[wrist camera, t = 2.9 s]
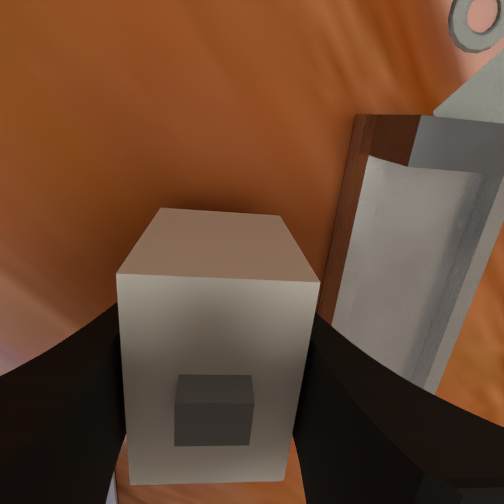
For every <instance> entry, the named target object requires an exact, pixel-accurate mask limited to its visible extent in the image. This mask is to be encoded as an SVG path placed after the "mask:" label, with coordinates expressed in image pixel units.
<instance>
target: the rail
mask: <svg viewBox="0 0 504 504" xmlns="http://www.w3.org/2000/svg"><path fill="white" fill-rule="evenodd" d="M503 221H504V124H503V123H494V122H484V121H475V120H465V119H456V118H446V117H436V116H427V115H374V114H356V117H355V122H354V127H353V132H352V138H351V143H350V148H349V153H348V158H347V163H346V168H345V173H344V179H343V184H342V189H341V194H340V199H339V204H338V209H337V214H336V220H335V225H334V230H333V235H332V240H331V245H330V250H329V255H328V261H327V266H326V271H325V276H324V281H323V286H322V291H321V297H320V302H319V307H318V312H317V314H318V315H320V316H321V317H322V318H323V319H324V320H325V321H326V322H327V323H329V324H330V325H331V326H332V327H333V328H334V329H336V330H337V331H338V332H339V333H340V334H342V335H343V336H344V337H345V338H347V339H348V340H349V341H350V342H352V343H353V344H354V345H356V346H357V347H358V348H360V349H361V350H362V351H364V352H365V353H366V354H368V355H369V356H370V357H372V358H373V359H375V360H376V361H378V362H379V363H381V364H382V365H384V366H385V367H387V368H389V369H390V370H392V371H393V372H395V373H396V374H398V375H399V376H401V377H403V378H405V379H406V380H408V381H410V382H411V383H413V384H415V385H417V386H419V387H420V388H422V389H424V390H426V391H428V392H430V393H432V394H433V395H435V393H436V390H437V388H438V385H439V383H440V380H441V378H442V375H443V373H444V370H445V367H446V365H447V362H448V360H449V357H450V355H451V352H452V350H453V347H454V345H455V342H456V340H457V337H458V335H459V332H460V330H461V327H462V325H463V322H464V320H465V317H466V315H467V312H468V310H469V307H470V305H471V302H472V299H473V297H474V294H475V292H476V289H477V287H478V284H479V282H480V279H481V277H482V274H483V272H484V269H485V267H486V264H487V262H488V259H489V257H490V254H491V252H492V249H493V247H494V244H495V242H496V239H497V236H498V234H499V231H500V229H501V226H502V224H503Z"/></svg>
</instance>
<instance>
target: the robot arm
mask: <svg viewBox="0 0 504 504" xmlns="http://www.w3.org/2000/svg"><path fill="white" fill-rule="evenodd" d="M292 434H293V438H294V442H295V445H296V449H297V454H298V458H299V463H300V468H301V474H302V480H303V486H304V491H305V497H306V503H307V504H504V427H502V426H499V425H497V424H494V423H492V422H490V421H488V420H485V419H483V418H481V417H479V416H477V415H474V414H472V413H470V412H468V411H466V410H463V409H461V408H459V407H457V406H455V405H453V404H451V403H449V402H447V401H445V400H443V399H441V398H439V397H437V396H435V395H433V394H432V393H430V392H428V391H426V390H424V389H422V388H420V387H419V386H417V385H415V384H413V383H411V382H410V381H408V380H406V379H405V378H403V377H401V376H399V375H398V374H396V373H395V372H393V371H392V370H390V369H389V368H387V367H385V366H384V365H382V364H381V363H379V362H378V361H376V360H375V359H373V358H372V357H370V356H369V355H368V354H366V353H365V352H364V351H362V350H361V349H360V348H358V347H357V346H356V345H354V344H353V343H352V342H350V341H349V340H348V339H347V338H345V337H344V336H343V335H342V334H340V333H339V332H338V331H337V330H336V329H334V328H333V327H332V326H331V325H330V324H329V323H327V322H326V321H325V320H324V319H323V318H322V317H321V316H320V315H318V314H317V313H316V312H315V314H314V320H313V325H312V330H311V336H310V341H309V347H308V352H307V357H306V363H305V368H304V373H303V379H302V384H301V389H300V395H299V400H298V405H297V411H296V416H295V421H294V427H293V432H292ZM125 435H126V419H125V403H124V388H123V373H122V358H121V343H120V328H119V313H118V302H117V303H115V304H114V305H113V306H111V307H110V308H109V309H107V310H106V311H105V312H103V313H102V314H101V315H99V316H98V317H97V318H95V319H94V320H93V321H91V322H90V323H89V324H87V325H86V326H84V327H83V328H81V329H80V330H78V331H77V332H75V333H74V334H72V335H71V336H69V337H68V338H66V339H65V340H63V341H62V342H60V343H59V344H57V345H56V346H54V347H53V348H51V349H49V350H48V351H46V352H44V353H43V354H41V355H39V356H37V357H36V358H34V359H32V360H30V361H28V362H27V363H25V364H23V365H21V366H19V367H17V368H16V369H14V370H12V371H10V372H8V373H6V374H4V375H2V376H0V504H118V502H117V492H116V482H115V472H114V468H115V465H116V462H117V459H118V455H119V452H120V449H121V446H122V443H123V441H124V438H125Z"/></svg>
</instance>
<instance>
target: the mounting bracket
mask: <svg viewBox="0 0 504 504" xmlns="http://www.w3.org/2000/svg"><path fill="white" fill-rule="evenodd" d="M472 1H473V0H453V2H452V5H451V9H450V13H449V17H448V23H449V34H450V36H451V38H452V40H453V42H454V44H455V45H456V46H457V47H458V48H460V49H461V50H463V51H464V52H469V53H479V52H481V51H484V50H487V49H489V48H491V47H492V46H493V45H494V44H495V43H497V42H498V41H499V40H500V39H501V38H502V37H504V0H497V2H498V14H497V18H496V20H495V22H494V23H493V25H492V27H491V28H489V29H488V30H487V31H486V32H483V33H477V32H474V31H473V30H472V29H471V28H470V26H469V24H468V20H467V14H468V10H469V6H470V5H471V3H472ZM433 113H434V116H436V117H446V118H456V119H465V120H475V121H484V122H494V123H503V124H504V49H503V50H501V51H500V52H499V53H498V54H497V55H496V56H495V57H494V58H492V59H491V60H490V61H489V62H488V63H487V64H486V65H485V66H483V67H482V68H481V69H480V70H479V71H478V72H477V73H476V74H474V75H473V76H472V77H471V78H470V79H469V80H468V81H467V82H466V83H464V84H463V85H462V86H461V87H460V88H459V89H458V90H457V91H455V92H454V93H453V94H452V95H451V96H450V97H449V98H448V99H446V100H445V101H444V102H443V103H442V104H441V105H440V106H439V107H437V108H436V109H435V110H434V111H433Z"/></svg>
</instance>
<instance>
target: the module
mask: <svg viewBox="0 0 504 504" xmlns="http://www.w3.org/2000/svg"><path fill="white" fill-rule="evenodd" d="M116 282H117V297H118V313H119V328H120V343H121V358H122V373H123V388H124V403H125V419H126V434H127V449H128V464H129V479H130V485H156V484H192V483H228V482H265V481H283V480H284V475H285V469H286V464H287V459H288V453H289V448H290V443H291V437H292V432H293V427H294V421H295V416H296V411H297V405H298V400H299V395H300V389H301V384H302V379H303V373H304V368H305V363H306V357H307V352H308V347H309V341H310V336H311V330H312V325H313V320H314V314H315V309H316V304H317V298H318V293H319V288H320V281H319V279H318V278H317V276H316V274H315V273H314V271H313V269H312V268H311V266H310V264H309V263H308V261H307V259H306V258H305V256H304V254H303V253H302V251H301V249H300V248H299V246H298V245H297V243H296V241H295V240H294V238H293V236H292V235H291V233H290V231H289V230H288V228H287V226H286V225H285V223H284V221H283V220H282V218H281V217H280V216H279V215H264V214H248V213H233V212H218V211H203V210H188V209H173V208H160V209H159V211H158V212H157V214H156V215H155V217H154V218H153V220H152V221H151V222H150V224H149V225H148V227H147V228H146V230H145V231H144V233H143V234H142V236H141V237H140V239H139V240H138V242H137V243H136V245H135V246H134V248H133V249H132V251H131V252H130V254H129V255H128V256H127V258H126V259H125V261H124V262H123V264H122V265H121V267H120V268H119V270H118V271H117V273H116Z"/></svg>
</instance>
